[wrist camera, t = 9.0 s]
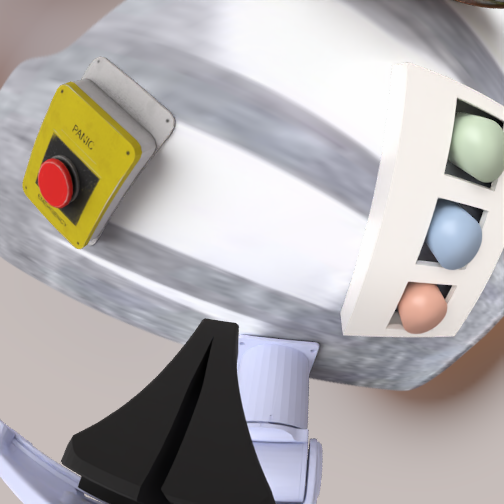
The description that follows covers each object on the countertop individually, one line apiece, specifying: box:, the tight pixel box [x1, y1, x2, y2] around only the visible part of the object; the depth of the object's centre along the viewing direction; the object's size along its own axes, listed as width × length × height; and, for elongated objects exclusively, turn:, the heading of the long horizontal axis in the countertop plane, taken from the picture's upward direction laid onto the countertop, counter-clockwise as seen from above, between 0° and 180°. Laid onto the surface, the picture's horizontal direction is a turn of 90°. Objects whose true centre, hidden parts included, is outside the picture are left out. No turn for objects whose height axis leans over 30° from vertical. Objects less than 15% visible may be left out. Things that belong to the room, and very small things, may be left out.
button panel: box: [340, 62, 504, 337], centre depth 16 cm, size 20×12×3 cm, turn 178°
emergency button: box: [23, 57, 175, 249], centre depth 17 cm, size 9×4×15 cm
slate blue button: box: [424, 198, 482, 270], centre depth 15 cm, size 4×4×3 cm
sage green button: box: [448, 112, 504, 182], centre depth 12 cm, size 4×4×3 cm
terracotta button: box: [397, 282, 447, 334], centre depth 19 cm, size 4×4×3 cm
